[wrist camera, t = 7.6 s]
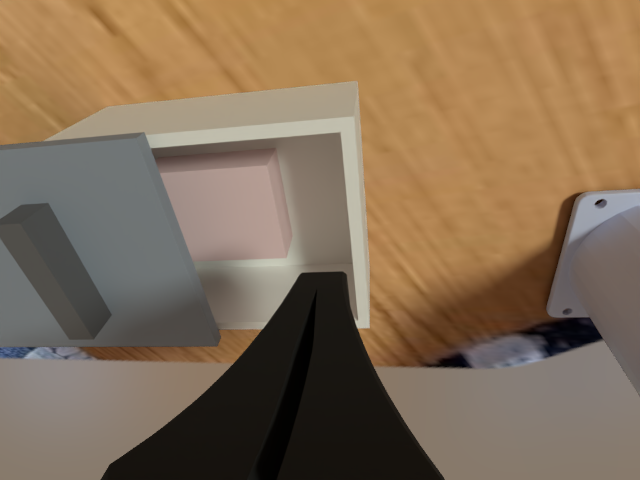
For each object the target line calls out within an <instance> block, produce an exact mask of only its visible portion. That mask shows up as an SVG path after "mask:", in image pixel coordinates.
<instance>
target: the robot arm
mask: <svg viewBox="0 0 640 480" xmlns="http://www.w3.org/2000/svg"><path fill="white" fill-rule="evenodd" d="M600 199H603V200H602V202H601V203H599V204H597V205H594V204H595V203H596V202H597V201H598V200H600ZM567 308H568V309H567ZM565 309H567V310H565ZM546 310H547V312H548V314H549V316H551V317H555V318H561V317H590V319H591V320H592V322H593V323H594V325H595V326H596V328H597V330H598V331H599V333H600V334H601V336H602V338H603V339H604V341H605V342H606V344H607V345H608V347H609V348H610V350H611V352H612V353H613V355H614V356H615V358H616V360H617V361H618V363H619V364H620V366H621V368H622V369H623V371H624V372H625V374H626V376H627V377H628V379H629V380H630V382H631V384H632V385H633V387H634V388H635V390H636V391H637V393H638V395H639V396H640V189H629V190H611V191H593V192H585V193H582V194H581V195H579V196H578V197H577V198H576V200H575V202H574V206H573V209H572V213H571V217H570V221H569V224H568V228H567V232H566V236H565V239H564V243H563V247H562V251H561V254H560V258H559V262H558V266H557V269H556V273H555V277H554V281H553V284H552V288H551V292H550V296H549V299H548V303H547V307H546ZM101 480H445V479H444V477H443V476H442V474H441V473H440V472H439V470H438V469H437V468H436V466H435V465H434V464H433V462H432V461H431V460H430V458H429V457H428V456H427V454H426V453H425V451H424V450H423V449H422V447H421V446H420V444H419V443H418V441H417V440H416V438H415V437H414V435H413V434H412V432H411V431H410V429H409V428H408V426H407V425H406V423H405V422H404V420H403V418H402V417H401V415H400V413H399V412H398V410H397V408H396V407H395V405H394V403H393V402H392V400H391V398H390V397H389V395H388V394H387V392H386V390H385V388H384V386H383V384H382V382H381V381H380V379H379V377H378V375H377V373H376V371H375V369H374V367H373V365H372V363H371V360H370V358H369V356H368V354H367V351H366V349H365V347H364V344H363V342H362V339H361V337H360V334H359V332H358V329H357V326H356V323H355V320H354V317H353V314H352V310H351V307H350V299H349V290H348V280H347V274H346V273H344V272H343V271H337V272H305V273H301V274H300V275H299V276H298V278H297V279H296V281H295V283H294V284H293V286H292V288H291V289H290V291H289V292H288V294H287V296H286V297H285V299H284V300H283V302H282V303H281V305H280V306H279V307H278V309H277V310H276V312H275V313H274V314H273V316H272V317H271V319H270V320H269V322H268V323H267V324H266V326H265V327H264V328H263V329H262V331H261V332H260V333H259V334H258V336H257V337H256V338H255V339H254V341H253V342H252V343H251V344H250V346H249V347H248V348H247V349H246V350H245V351H244V353H243V354H242V355H241V356H240V357H239V358H238V359H237V360H236V362H235V363H234V364H233V365H232V366H231V367H230V368H229V369H228V370H227V371H226V372H225V373H224V374H223V375H222V376H221V377H220V378H219V379H218V380H217V381H216V382H215V383H214V384H213V385H212V386H211V387H210V388H209V389H208V390H207V391H206V392H205V393H203V394H202V395H201V396H200V397H199V398H198V399H197V400H195V401H194V402H193V403H192V404H191V405H190V406H188V407H187V408H186V409H185V410H183V411H182V412H181V413H180V414H179V415H177V416H176V417H175V418H174V419H172V420H171V421H170V422H169V423H168V424H166V425H165V426H164V427H163V428H161V429H160V430H158V431H157V432H156V433H154V434H153V435H152V436H150V437H149V438H148V439H146V440H145V441H143V442H142V443H140V444H139V445H137V446H136V447H135V448H133V449H132V450H130V451H129V452H127V453H126V454H125V455H123V456H122V457H120V458H119V459H117V460H116V461H114V462H113V463H111V464H110V465H109V467H108V468H107V470H106V472H105V473H104V475H103V477H102V479H101Z"/></svg>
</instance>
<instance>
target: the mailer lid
mask: <svg viewBox="0 0 640 480" xmlns="http://www.w3.org/2000/svg"><path fill="white" fill-rule="evenodd" d="M220 338H221V335H220V333H219V330H218V327H217V325H216V322H215V319H214V317H213V314H212V311H211V309H210V306H209V303H208V301H207V298H206V295H205V293H204V290H203V287H202V285H201V282H200V279H199V277H198V274H197V271H196V269H195V266H194V263H193V261H192V258H191V255H190V253H189V250H188V247H187V245H186V242H185V239H184V237H183V234H182V231H181V228H180V226H179V223H178V220H177V218H176V215H175V212H174V210H173V207H172V204H171V202H170V199H169V196H168V194H167V191H166V188H165V186H164V183H163V180H162V178H161V175H160V172H159V170H158V167H157V164H156V162H155V159H154V156H153V154H152V151H151V148H150V146H149V143H148V140H147V138H146V135H145V132H140V133H129V134H118V135H107V136H96V137H85V138H74V139H63V140H52V141H41V142H30V143H19V144H8V145H0V347H191V346H218V343H219V341H220Z"/></svg>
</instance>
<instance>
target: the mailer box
mask: <svg viewBox="0 0 640 480" xmlns="http://www.w3.org/2000/svg"><path fill="white" fill-rule="evenodd" d="M140 132H145V135H146V138H147V140H148V143H149V146H150V148H151V151H152V154H153V156H154V159H155V162H156V164H157V167H158V170H159V172H160V175H161V178H162V180H163V183H164V186H165V188H166V191H167V194H168V196H169V199H170V202H171V204H172V207H173V210H174V212H175V215H176V218H177V220H178V223H179V226H180V228H181V231H182V234H183V237H184V239H185V242H186V245H187V247H188V250H189V253H190V255H191V258H192V261H193V263H194V266H195V269H196V271H197V274H198V277H199V279H200V282H201V285H202V287H203V290H204V293H205V295H206V298H207V301H208V303H209V306H210V309H211V311H212V314H213V317H214V319H215V322H216V325H217V327H218V330H228V329H263V328H264V327H265V326H266V324H267V323H268V322H269V320H270V319H271V317H272V316H273V314H274V313H275V312H276V310H277V309H278V307H279V306H280V305H281V303H282V302H283V300H284V299H285V297H286V296H287V294H288V292H289V291H290V289H291V288H292V286H293V284H294V283H295V281H296V279H297V278H298V276H299V275H300V274H301V273H305V272H337V271H343V272H344V273H346V274H347V280H348V290H349V299H350V307H351V310H352V314H353V317H354V320H355V323H356V326H357V328H370V268H369V248H368V233H367V217H366V202H365V186H364V171H363V155H362V140H361V125H360V109H359V94H358V81H351V82H341V83H332V84H322V85H312V86H303V87H293V88H283V89H274V90H264V91H254V92H245V93H235V94H225V95H216V96H206V97H196V98H187V99H177V100H167V101H157V102H148V103H138V104H128V105H119V106H109V107H106V108H104V109H102V110H100V111H98V112H96V113H95V114H93V115H91V116H89V117H87V118H85V119H83V120H81V121H80V122H78V123H76V124H74V125H72V126H70V127H68V128H66V129H65V130H63V131H61V132H59V133H57V134H55V135H53V136H52V137H50V138H48V139H46V140H44V141H52V140H63V139H74V138H85V137H96V136H107V135H118V134H129V133H140Z"/></svg>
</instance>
